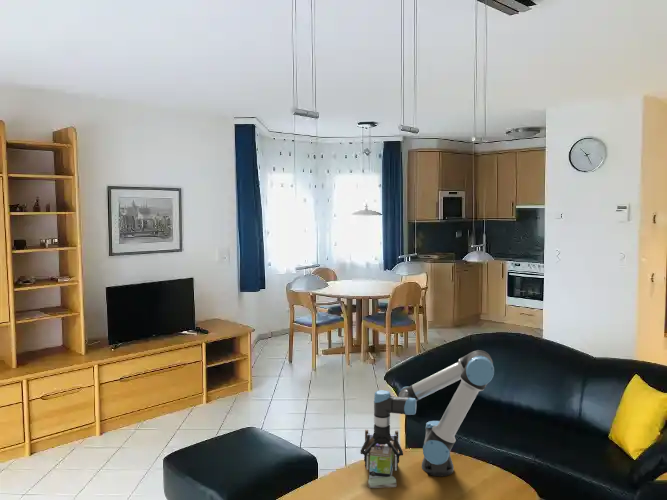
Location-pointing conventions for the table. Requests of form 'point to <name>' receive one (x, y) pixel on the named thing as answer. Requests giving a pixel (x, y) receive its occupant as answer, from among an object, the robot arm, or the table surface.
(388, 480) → the sage painted offcut
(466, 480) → the table surface
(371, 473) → the tea box
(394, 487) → the pinkish brown bar
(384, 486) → the grey board offcut
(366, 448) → the rack
